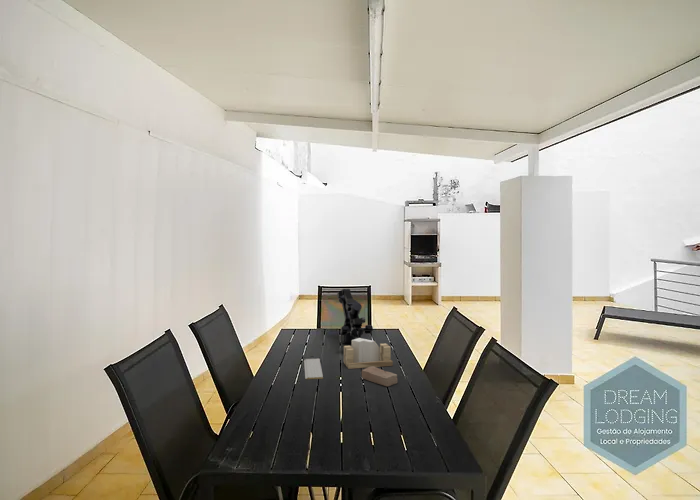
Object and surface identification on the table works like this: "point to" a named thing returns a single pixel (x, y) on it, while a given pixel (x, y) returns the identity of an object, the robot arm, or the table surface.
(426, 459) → the table surface
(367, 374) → the brick
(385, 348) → the wooden rack
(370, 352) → the grey faceted lump
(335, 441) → the table surface
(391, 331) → the table surface
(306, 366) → the baseboard
